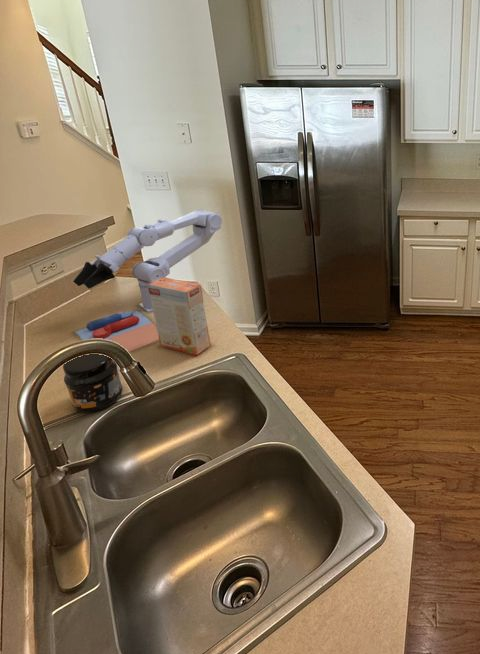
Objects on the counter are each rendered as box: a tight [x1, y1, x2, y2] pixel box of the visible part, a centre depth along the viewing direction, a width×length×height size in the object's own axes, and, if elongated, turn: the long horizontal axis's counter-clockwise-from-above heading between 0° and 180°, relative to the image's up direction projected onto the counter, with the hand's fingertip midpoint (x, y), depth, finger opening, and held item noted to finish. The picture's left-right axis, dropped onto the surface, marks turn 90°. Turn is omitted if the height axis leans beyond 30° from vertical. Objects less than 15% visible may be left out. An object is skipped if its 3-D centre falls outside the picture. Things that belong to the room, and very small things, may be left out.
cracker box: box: [148, 277, 211, 356], centre depth 126 cm, size 14×6×21 cm, turn 71°
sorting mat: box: [74, 310, 159, 353], centre depth 134 cm, size 18×24×1 cm
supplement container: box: [62, 354, 124, 413], centre depth 105 cm, size 10×10×12 cm
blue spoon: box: [85, 310, 133, 330], centre depth 139 cm, size 13×5×3 cm, turn 141°
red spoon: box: [92, 316, 139, 339], centre depth 135 cm, size 13×5×3 cm, turn 141°
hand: (81, 285), depth 130 cm, fingers open, 7 cm apart
